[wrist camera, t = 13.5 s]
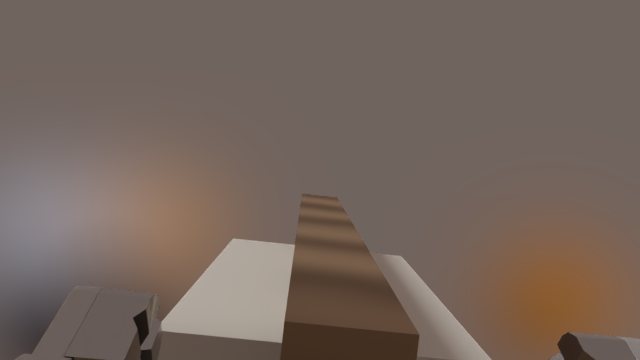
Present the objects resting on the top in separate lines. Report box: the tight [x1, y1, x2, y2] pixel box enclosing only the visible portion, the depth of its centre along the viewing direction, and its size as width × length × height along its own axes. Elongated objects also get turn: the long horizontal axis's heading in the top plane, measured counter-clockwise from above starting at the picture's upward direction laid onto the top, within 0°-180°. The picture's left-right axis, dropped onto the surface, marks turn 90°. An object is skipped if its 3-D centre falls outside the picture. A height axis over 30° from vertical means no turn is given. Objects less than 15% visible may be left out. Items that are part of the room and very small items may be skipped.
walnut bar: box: [280, 194, 420, 360], centre depth 27 cm, size 32×3×3 cm, turn 1°
